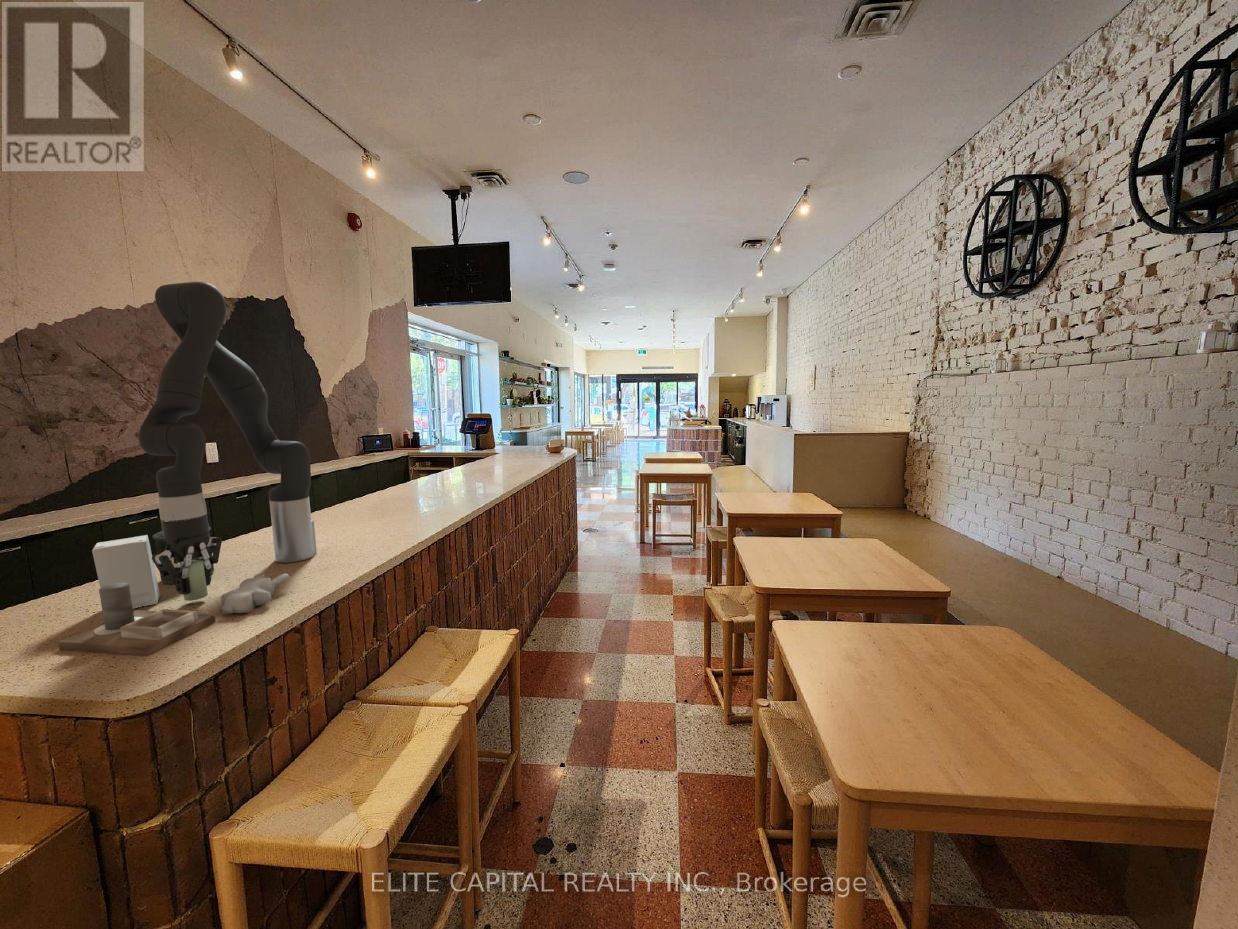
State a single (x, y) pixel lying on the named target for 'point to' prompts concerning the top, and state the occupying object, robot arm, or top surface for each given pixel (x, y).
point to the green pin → (196, 581)
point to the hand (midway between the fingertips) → (194, 589)
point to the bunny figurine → (251, 594)
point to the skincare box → (128, 568)
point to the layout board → (134, 626)
